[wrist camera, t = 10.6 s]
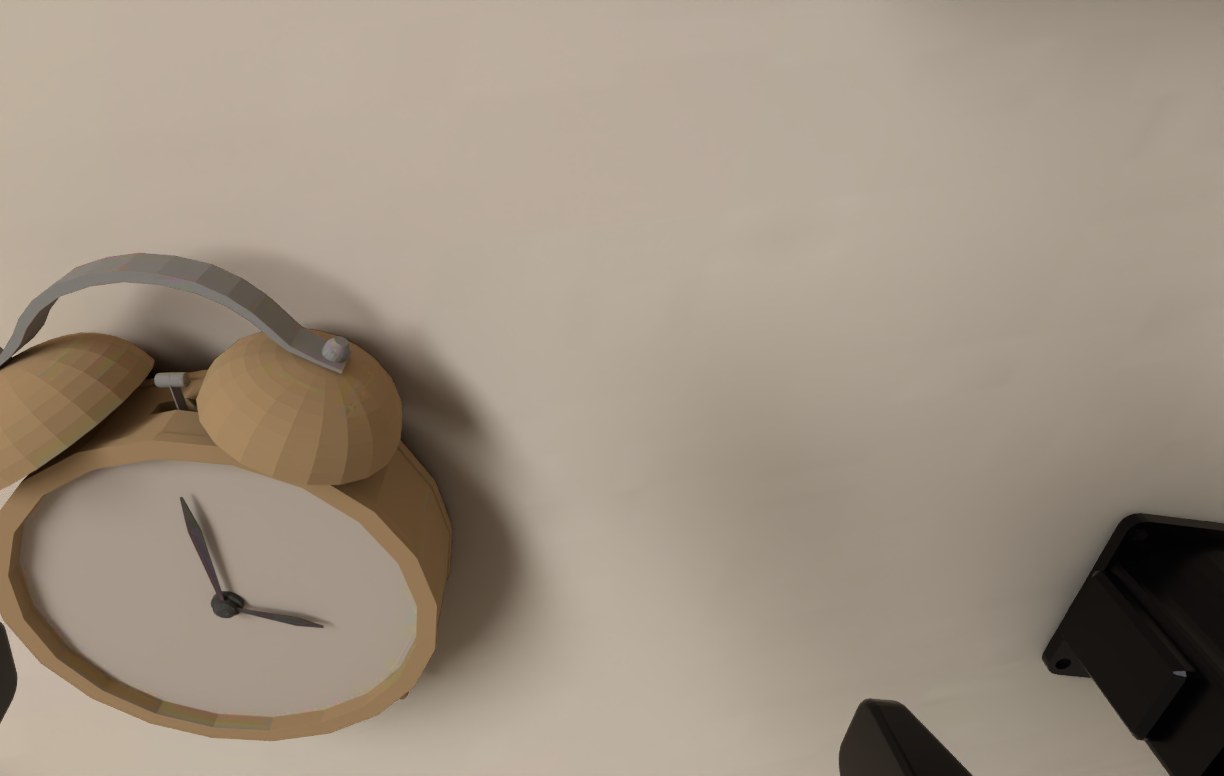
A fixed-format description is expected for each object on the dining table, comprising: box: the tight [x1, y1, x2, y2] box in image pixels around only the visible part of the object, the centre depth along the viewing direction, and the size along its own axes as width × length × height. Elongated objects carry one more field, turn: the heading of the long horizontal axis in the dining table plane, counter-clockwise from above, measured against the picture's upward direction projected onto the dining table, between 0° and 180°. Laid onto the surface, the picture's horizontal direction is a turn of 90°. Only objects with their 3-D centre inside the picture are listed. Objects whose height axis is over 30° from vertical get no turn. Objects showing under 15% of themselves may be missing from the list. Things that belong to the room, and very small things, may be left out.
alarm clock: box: [0, 253, 452, 741], centre depth 21 cm, size 11×5×15 cm
